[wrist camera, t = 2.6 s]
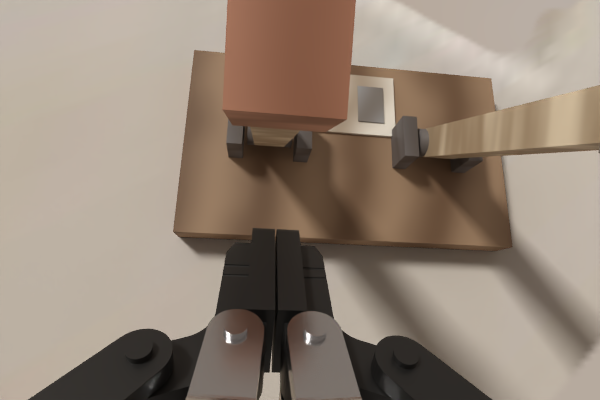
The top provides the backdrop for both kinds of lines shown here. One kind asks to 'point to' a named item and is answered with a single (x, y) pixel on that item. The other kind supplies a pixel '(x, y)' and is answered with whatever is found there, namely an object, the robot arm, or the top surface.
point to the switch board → (345, 168)
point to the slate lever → (520, 129)
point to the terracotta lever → (287, 67)
